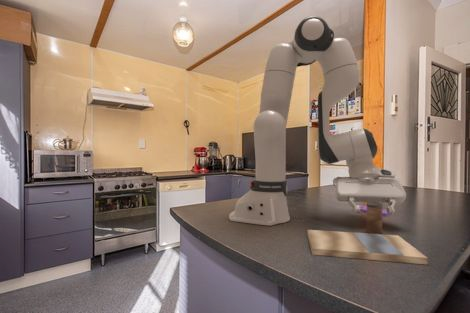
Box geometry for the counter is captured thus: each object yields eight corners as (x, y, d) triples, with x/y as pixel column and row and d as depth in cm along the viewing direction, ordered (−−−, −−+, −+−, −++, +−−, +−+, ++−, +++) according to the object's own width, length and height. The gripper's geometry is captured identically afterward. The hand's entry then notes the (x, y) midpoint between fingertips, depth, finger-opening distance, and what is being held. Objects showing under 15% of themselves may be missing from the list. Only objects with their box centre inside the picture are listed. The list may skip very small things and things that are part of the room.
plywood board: (312, 254, 56) (312, 247, 56) (307, 234, 70) (307, 229, 70) (427, 264, 51) (427, 257, 51) (398, 240, 65) (398, 235, 65)
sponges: (360, 209, 103) (360, 204, 103) (392, 214, 93) (392, 210, 93) (352, 211, 99) (352, 207, 99) (385, 217, 89) (385, 213, 89)
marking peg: (369, 234, 70) (369, 204, 70) (364, 230, 74) (365, 201, 74) (384, 235, 69) (384, 205, 69) (379, 231, 73) (379, 202, 73)
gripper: (333, 171, 81) (339, 205, 72) (399, 171, 77) (415, 208, 68) (330, 182, 86) (336, 216, 76) (393, 183, 81) (407, 219, 72)
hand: (374, 212), depth 72 cm, fingers open, 8 cm apart
